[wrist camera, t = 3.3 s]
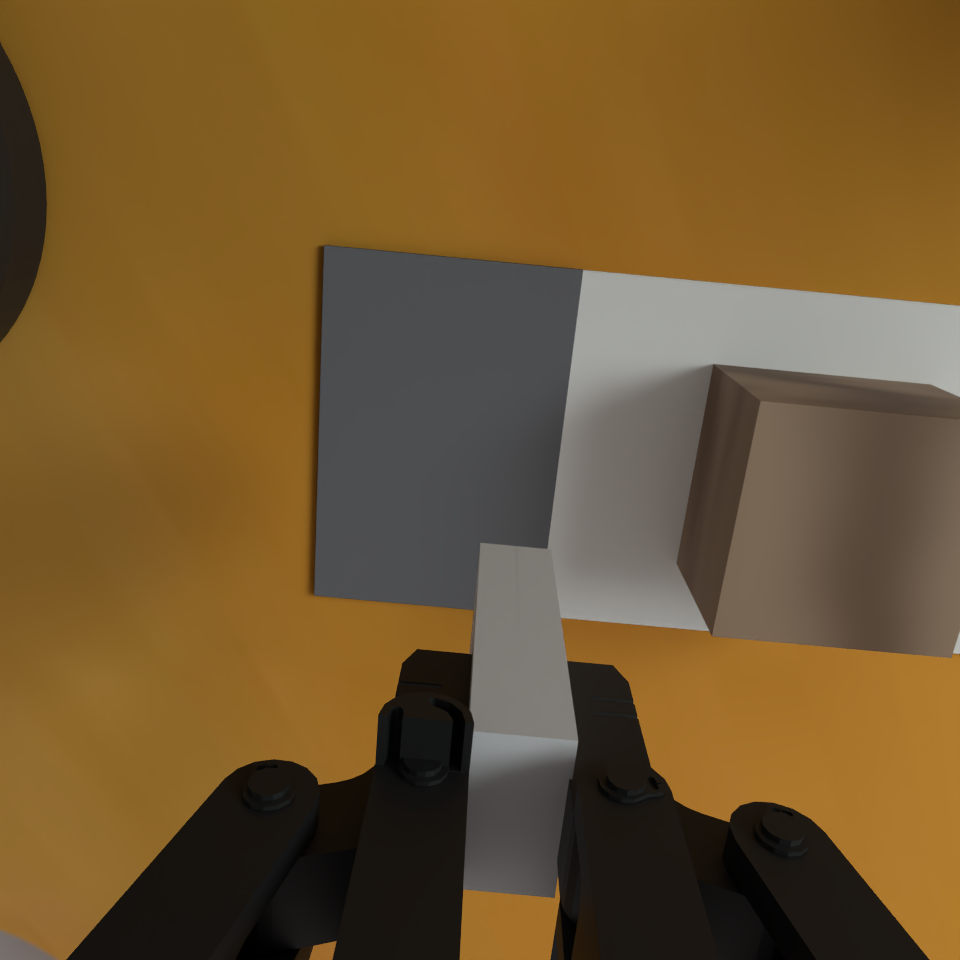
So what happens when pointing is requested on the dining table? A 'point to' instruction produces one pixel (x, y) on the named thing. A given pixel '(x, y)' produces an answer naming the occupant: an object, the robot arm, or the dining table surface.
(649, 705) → the dining table surface
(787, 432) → the walnut block
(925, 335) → the tile
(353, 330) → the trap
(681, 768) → the dining table surface
